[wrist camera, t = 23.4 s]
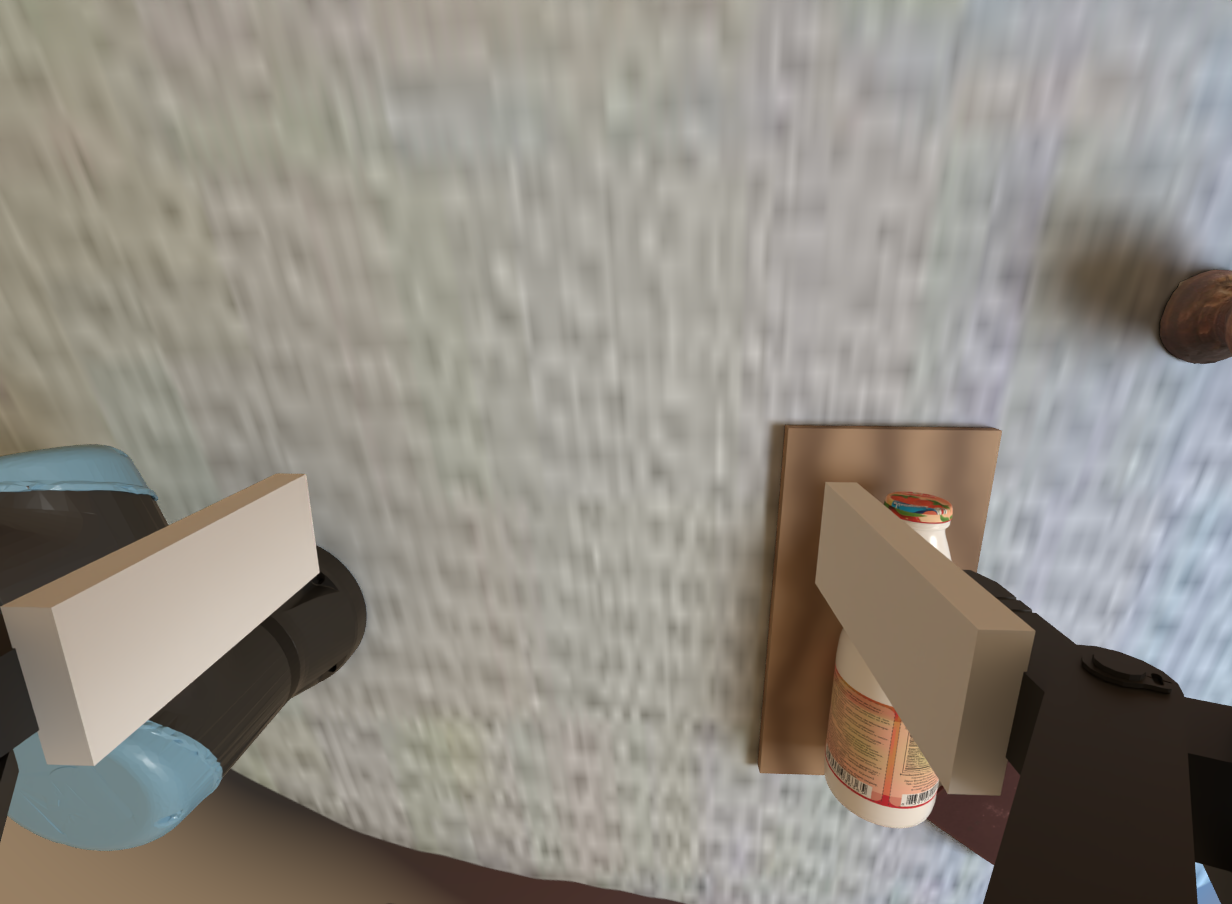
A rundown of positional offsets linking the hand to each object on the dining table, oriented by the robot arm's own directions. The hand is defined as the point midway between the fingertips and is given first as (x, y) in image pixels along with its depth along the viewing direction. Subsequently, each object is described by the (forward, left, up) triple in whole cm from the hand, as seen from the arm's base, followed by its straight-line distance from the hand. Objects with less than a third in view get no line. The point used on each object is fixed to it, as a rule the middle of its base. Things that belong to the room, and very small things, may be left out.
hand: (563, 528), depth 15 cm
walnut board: (+24, -23, -37) cm, 50 cm away
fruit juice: (+24, -38, -31) cm, 55 cm away
